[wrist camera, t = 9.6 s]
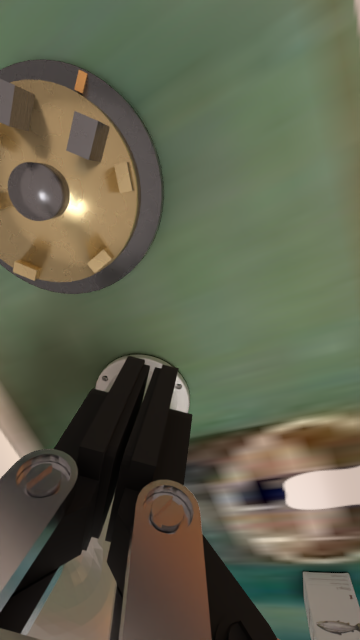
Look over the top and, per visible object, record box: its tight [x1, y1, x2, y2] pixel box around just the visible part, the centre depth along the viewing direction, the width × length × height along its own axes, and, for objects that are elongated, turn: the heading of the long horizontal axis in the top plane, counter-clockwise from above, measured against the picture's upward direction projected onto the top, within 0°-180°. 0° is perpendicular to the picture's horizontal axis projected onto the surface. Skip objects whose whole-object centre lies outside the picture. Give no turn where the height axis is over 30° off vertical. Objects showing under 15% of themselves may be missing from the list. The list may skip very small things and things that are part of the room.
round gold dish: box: [0, 79, 141, 282], centre depth 31 cm, size 18×18×5 cm
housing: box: [0, 60, 164, 294], centre depth 34 cm, size 22×22×2 cm
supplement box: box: [303, 572, 360, 640], centre depth 49 cm, size 7×7×13 cm
